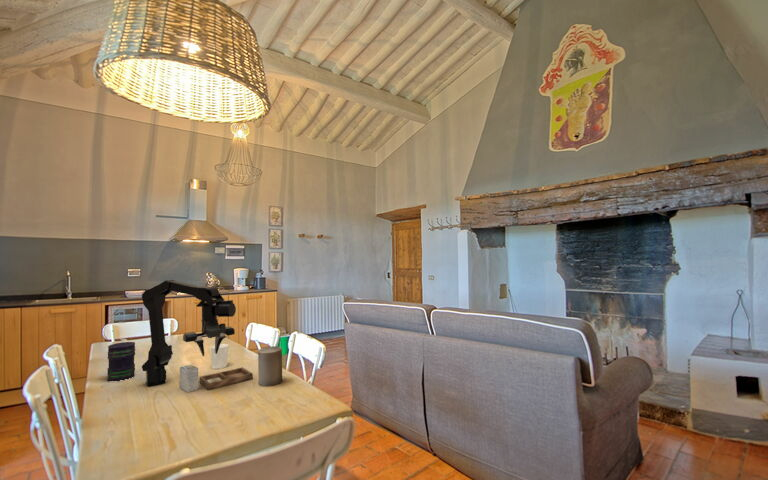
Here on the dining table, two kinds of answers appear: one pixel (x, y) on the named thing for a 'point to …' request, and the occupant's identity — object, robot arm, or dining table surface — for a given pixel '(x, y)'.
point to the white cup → (219, 356)
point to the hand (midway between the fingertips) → (209, 354)
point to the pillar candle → (270, 366)
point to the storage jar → (121, 361)
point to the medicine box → (189, 378)
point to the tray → (225, 378)
